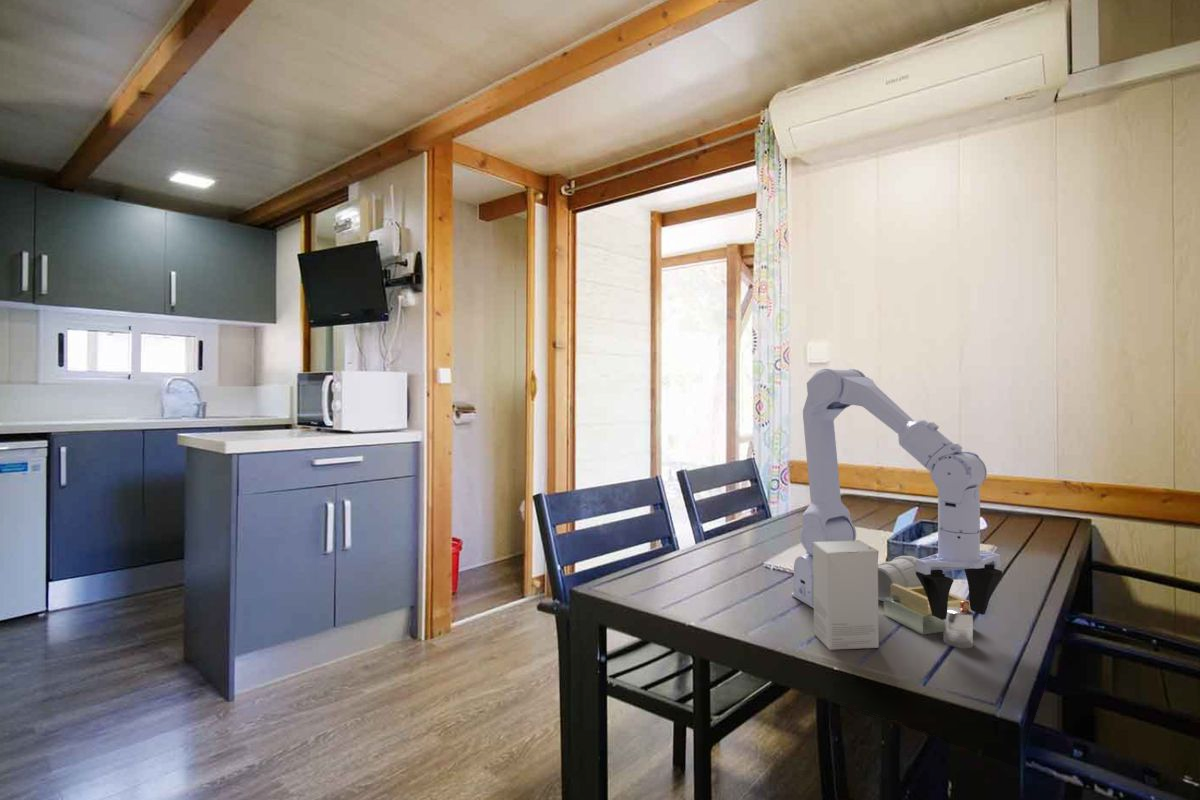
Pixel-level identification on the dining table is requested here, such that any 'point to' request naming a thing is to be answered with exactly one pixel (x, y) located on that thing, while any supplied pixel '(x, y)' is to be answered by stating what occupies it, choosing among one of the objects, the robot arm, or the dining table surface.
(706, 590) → the dining table surface
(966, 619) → the spout can
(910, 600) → the tan and green box
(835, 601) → the skincare box
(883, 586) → the mug
